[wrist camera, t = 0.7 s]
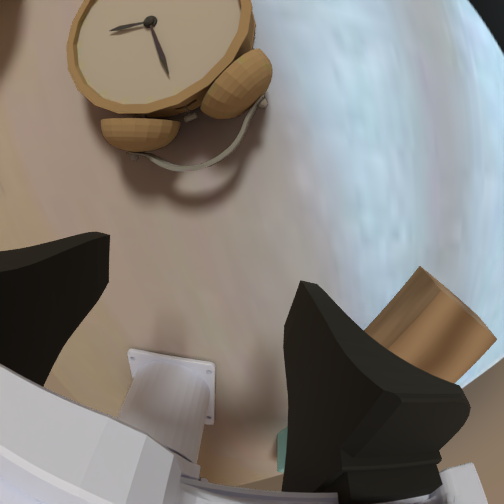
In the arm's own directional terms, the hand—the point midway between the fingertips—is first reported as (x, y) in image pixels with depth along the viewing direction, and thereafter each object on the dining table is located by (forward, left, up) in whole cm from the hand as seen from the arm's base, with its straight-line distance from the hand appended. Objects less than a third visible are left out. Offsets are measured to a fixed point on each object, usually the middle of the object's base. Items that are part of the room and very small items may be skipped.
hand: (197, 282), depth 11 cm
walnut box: (-9, -17, -10) cm, 22 cm away
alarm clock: (+10, +4, -10) cm, 15 cm away
